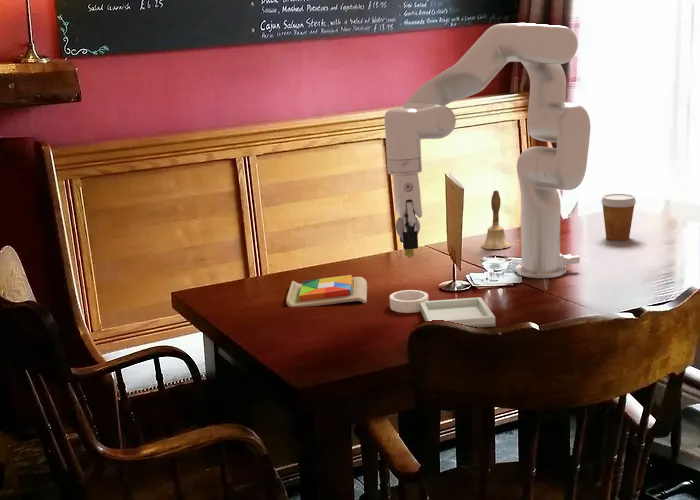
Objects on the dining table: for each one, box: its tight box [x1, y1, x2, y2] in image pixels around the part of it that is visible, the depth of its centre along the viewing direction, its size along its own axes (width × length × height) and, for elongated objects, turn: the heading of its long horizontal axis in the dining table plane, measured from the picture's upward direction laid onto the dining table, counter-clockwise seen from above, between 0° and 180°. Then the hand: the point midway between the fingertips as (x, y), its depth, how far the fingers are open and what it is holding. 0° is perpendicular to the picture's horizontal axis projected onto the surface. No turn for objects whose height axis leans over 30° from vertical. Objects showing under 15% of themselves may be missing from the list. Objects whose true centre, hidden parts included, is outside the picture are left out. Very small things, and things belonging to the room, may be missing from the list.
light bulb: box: [395, 215, 421, 259], centre depth 199 cm, size 6×6×10 cm
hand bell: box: [480, 190, 511, 251], centre depth 249 cm, size 8×8×16 cm
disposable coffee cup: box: [600, 193, 637, 242], centre depth 251 cm, size 10×10×12 cm
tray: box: [419, 296, 496, 328], centre depth 193 cm, size 14×14×2 cm
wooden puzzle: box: [285, 274, 368, 308], centre depth 215 cm, size 18×19×4 cm
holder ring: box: [389, 289, 430, 314], centre depth 202 cm, size 9×9×3 cm
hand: (409, 244), depth 199 cm, fingers closed on light bulb, 5 cm apart
